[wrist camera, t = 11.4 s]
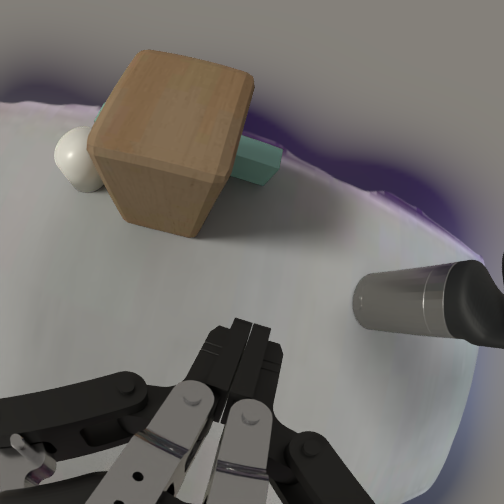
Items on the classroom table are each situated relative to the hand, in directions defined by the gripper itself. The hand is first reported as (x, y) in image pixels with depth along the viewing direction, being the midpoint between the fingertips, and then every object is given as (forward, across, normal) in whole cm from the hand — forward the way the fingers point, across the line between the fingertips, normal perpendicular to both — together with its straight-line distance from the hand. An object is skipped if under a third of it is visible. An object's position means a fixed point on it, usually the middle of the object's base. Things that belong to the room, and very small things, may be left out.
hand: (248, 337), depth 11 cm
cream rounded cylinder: (+20, +27, +1) cm, 33 cm away
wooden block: (+23, +16, +3) cm, 28 cm away
